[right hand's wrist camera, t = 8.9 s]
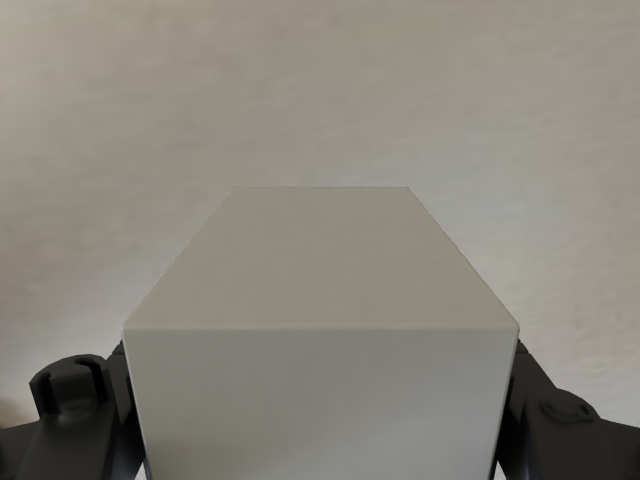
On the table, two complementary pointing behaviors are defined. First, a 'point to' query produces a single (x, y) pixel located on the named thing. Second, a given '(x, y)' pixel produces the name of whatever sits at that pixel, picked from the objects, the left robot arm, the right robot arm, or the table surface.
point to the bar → (320, 344)
